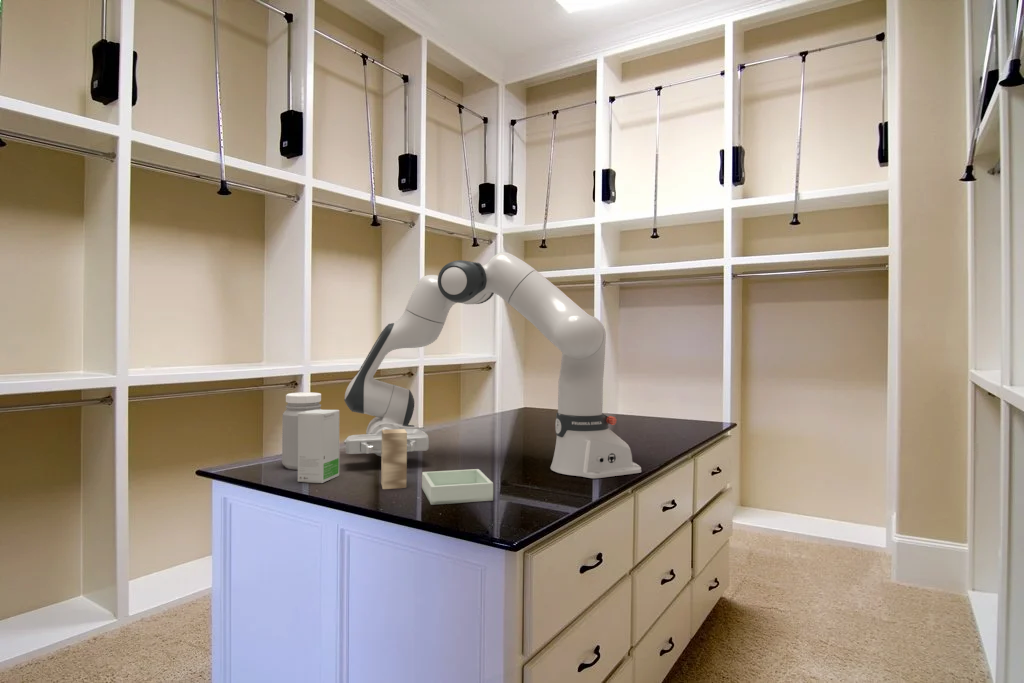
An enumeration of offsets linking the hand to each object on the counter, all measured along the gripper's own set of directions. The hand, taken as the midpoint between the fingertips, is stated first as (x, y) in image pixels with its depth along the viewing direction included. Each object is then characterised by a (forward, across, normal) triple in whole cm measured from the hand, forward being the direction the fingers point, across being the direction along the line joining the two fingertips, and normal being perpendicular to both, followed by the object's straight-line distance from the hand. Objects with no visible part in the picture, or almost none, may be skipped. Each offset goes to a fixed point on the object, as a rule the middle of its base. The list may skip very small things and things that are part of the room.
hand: (390, 449), depth 138 cm
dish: (+21, +12, +6) cm, 25 cm away
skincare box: (+1, -16, +6) cm, 17 cm away
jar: (-13, -20, +6) cm, 25 cm away
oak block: (+11, 0, +6) cm, 12 cm away
